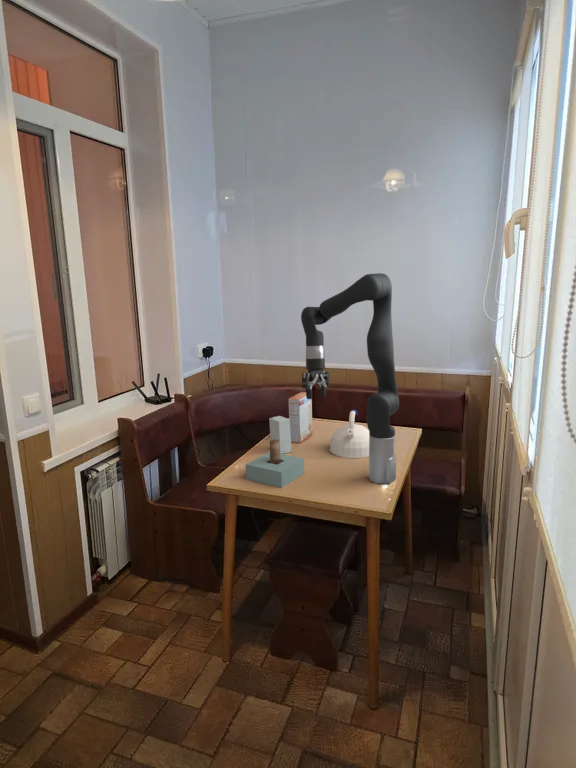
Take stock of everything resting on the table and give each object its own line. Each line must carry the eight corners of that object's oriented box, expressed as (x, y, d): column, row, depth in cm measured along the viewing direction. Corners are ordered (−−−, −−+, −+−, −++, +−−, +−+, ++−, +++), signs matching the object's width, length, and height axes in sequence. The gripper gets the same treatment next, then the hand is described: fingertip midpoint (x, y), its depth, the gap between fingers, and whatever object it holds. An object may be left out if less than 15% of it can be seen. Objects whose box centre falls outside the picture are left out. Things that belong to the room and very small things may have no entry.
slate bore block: (304, 473, 199) (304, 458, 198) (281, 487, 186) (281, 472, 185) (270, 465, 208) (269, 451, 207) (246, 479, 195) (245, 464, 193)
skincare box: (291, 452, 223) (291, 419, 220) (279, 455, 220) (279, 421, 217) (281, 446, 230) (280, 414, 227) (269, 449, 227) (268, 417, 224)
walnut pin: (282, 472, 198) (282, 440, 195) (277, 476, 194) (276, 443, 191) (274, 470, 200) (273, 438, 197) (268, 474, 196) (267, 441, 194)
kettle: (325, 457, 217) (325, 415, 213) (333, 441, 236) (333, 403, 232) (374, 460, 212) (375, 418, 208) (377, 444, 231) (378, 405, 228)
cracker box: (301, 433, 249) (300, 391, 244) (312, 435, 246) (312, 392, 242) (288, 442, 236) (287, 397, 232) (300, 443, 234) (299, 399, 229)
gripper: (310, 358, 197) (311, 400, 198) (333, 356, 207) (334, 396, 209) (296, 358, 202) (297, 399, 203) (319, 356, 212) (320, 396, 214)
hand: (316, 398), depth 206 cm, fingers open, 8 cm apart
